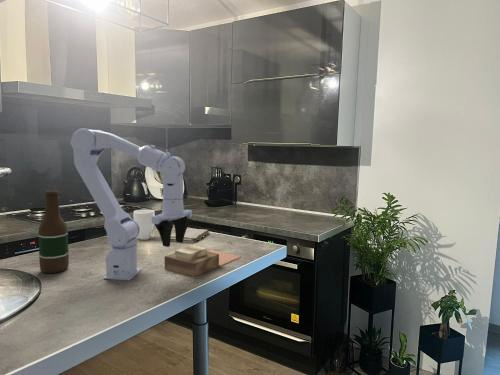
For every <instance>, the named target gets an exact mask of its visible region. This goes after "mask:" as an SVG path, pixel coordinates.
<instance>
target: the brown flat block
mask: <svg viewBox="0 0 500 375" xmlns="http://www.w3.org/2000/svg"><path fill="white" fill-rule="evenodd" d="M219 267H220V266H219V254H216V253H211V252H208V251H207V254H206V255H204V256H201V257H198V258H196V259H193V260H190V261H189V260H185V259H181V258H177V257H175V252H173V253H171V254H167V255H165V256H164V270H168V271H171V272H174V273H178V274H182V275H185V276H189V277H193V278H195V277H198V276H199V275H202V274H204V273H206V272H209V271H212V270H213V269H216V268H219Z"/></svg>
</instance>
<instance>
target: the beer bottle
mask: <svg viewBox="0 0 500 375" xmlns="http://www.w3.org/2000/svg"><path fill="white" fill-rule="evenodd" d="M59 192H60V191H59V190H55V189H53V190H51V189H50V190H46V191H45V193H44V195H45V212H44V214H45V215H44V218H43V219H42V221H41V223H40V224H39V228H38V235H37V236H38V255H39V256H38V257H39V270H40V271H41V272H43V273H45V274H51V273H52V274H55V273H59V272H60V273H61V272H63V271H66V270H67V269H68V268H69V265H70V264H69V263H70V262H69V232H68V231H69V230H68V225H67V224H66V221H65V219H63V217H62V216H61V212H60V211H61V210H60V200H59V195H60V193H59Z"/></svg>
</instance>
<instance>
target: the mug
mask: <svg viewBox="0 0 500 375" xmlns="http://www.w3.org/2000/svg"><path fill="white" fill-rule="evenodd" d="M152 216H156V213H155V210H153V209H146V208H145V209H136V210H134V211H133V220H134V221H136V222H137V223H138V225H139V228H140V232H139V235H138V236H137V238H138V239H139V240H142V241H143V240H149V239H150V238H151V236H152V234H153V233H155V232H158V230H157V228H156V229H155V230H154V227H155V224H153V223H152ZM153 230H154V231H153Z"/></svg>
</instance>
